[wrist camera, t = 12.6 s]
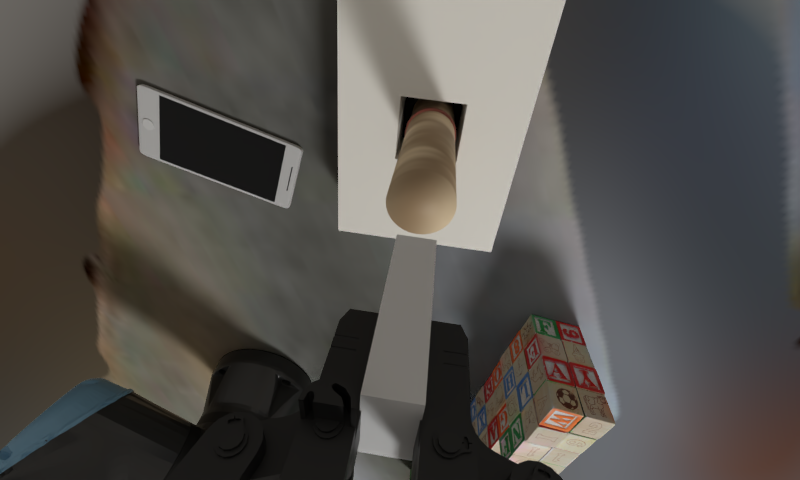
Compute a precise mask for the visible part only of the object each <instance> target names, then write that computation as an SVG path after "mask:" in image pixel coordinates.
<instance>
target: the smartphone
mask: <svg viewBox="0 0 800 480" xmlns="http://www.w3.org/2000/svg"><path fill="white" fill-rule="evenodd" d="M137 101H138V122H139V144H140V152H141V153H142V154H144V155H146V156H148V157H151V158H153V159H156V160H159V161H161V162H164V163H167V164H169V165H172V166H175V167H177V168H180V169H183V170H185V171H188V172H191V173H193V174H196V175H198V176H201V177H204V178H206V179H209V180H212V181H214V182H217V183H220V184H222V185H225V186H228V187H230V188H233V189H236V190H238V191H241V192H243V193H246V194H249V195H251V196H254V197H257V198H259V199H262V200H265V201H267V202H270V203H273V204H275V205H278V206H281V207H284V208H289V206H290V205H291V201H292V196H293V192H294V188H295V184H296V179H297V175H298V171H299V166H300V162H301V158H302V154H303V149H302V148H301V147H300V146H298V145H295V144H293V143H290V142H288V141H285V140H283V139H280V138H278V137H275V136H273V135H270V134H268V133H265V132H263V131H260V130H258V129H255V128H253V127H250V126H248V125H245V124H243V123H241V122H238V121H236V120H233V119H231V118H228V117H226V116H223V115H221V114H218V113H216V112H213V111H211V110H208V109H206V108H203V107H201V106H198V105H196V104H193V103H191V102H188V101H186V100H183V99H181V98H178V97H176V96H173V95H171V94H168V93H166V92H163V91H161V90H158V89H156V88H153V87H151V86H148V85H145V84H141V85H138V86H137Z"/></svg>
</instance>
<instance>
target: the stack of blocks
mask: <svg viewBox="0 0 800 480" xmlns="http://www.w3.org/2000/svg"><path fill="white" fill-rule="evenodd" d="M604 395H605V392H604V390H603V387H602V384H601V382H600V379H599V376H598V374H597V371H596V369H595V368H594V365H593V363H592V360H591V358H590V355H589V352H588V350H587V348H586V343H585V341H584V338H583V336H582V333H581V330H580V328H579V327H577V326H574V325H570V324H566V323H563V322H559V321H554V320H550V319H547V318H543V317H539V316H536V315H532V314H531V315H530V317H529V318H528V320H527V321H526V323H525V324H524V325H523V327H522V328H521V330H520V331H519V332H518V333H517V335H516V336H515V337H514V339H513V340H512V342H511V343H510V345H509V346H508V348H507V349H506V351H505V352H504V354H503V355H502V357H501V358H500V361H499V362H498V364H497V366H496V367H495V369H494V370H493V372H492V374H491V375H490V377H489V378H488V380H487V381H486V383H485V384H484V385H483V386H482V387H481V389H480V390H479V392H478V393H477V395H476V397H475V398H474V400H473V401H472V403H471V404H470V408H471V420H472V425H473V427H474V430H475V432H476V434H477V435H478V437H479V438H480V440H481V441H482V442H483V443H484V444H485V445H486V446H487V447H489V448H490V449H492V450H493V451H495V452H496V453H498V454H500V455H502V456H504V457H506V458H507V459H509V460H511V461H513V462H515V463H517V464H518V463H521V462H524V461H527V460H532V461H539V462H541V463H543V464H545V465H547V466H549V467H551V468H552V469H553V470H554V471H555V472H556V473H557V474H559V473H560V472H562V471H563V470H564V469H565V468H566V466H568V465H569V464H570V463H571V462H572V461H573V460H575V459H576V458H577V457H578V456H579V454H581V453H583V452H584V451H585V450H586V449H587V448H588V447H590V446H591V445H592V444H593V443H594V442H595V441H596V440H597V439H599V438H601V437H602V436H603V435H604V434H605V433H606V432H608V431H609V430H610V429H611V428H612V427H614V425H615V421H614V418H613V416H612V413H611V411H610V408H609V405H608V403H607V400H606V398H605V396H604Z"/></svg>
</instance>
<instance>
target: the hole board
mask: <svg viewBox="0 0 800 480" xmlns="http://www.w3.org/2000/svg"><path fill="white" fill-rule="evenodd" d="M565 1H566V0H337V46H338V230H340V231H347V232H354V233H361V234H368V235H375V236H382V237H389V238H396V236H397V234H398V235H405V236H412V237H419V238H426V239H433V240H437V244H438V245H444V246H451V247H458V248H465V249H472V250H479V251H486V252H491V251H492V247H493V244H494V240H495V237H496V234H497V230H498V227H499V224H500V220H501V217H502V214H503V210H504V207H505V203H506V200H507V197H508V193H509V190H510V187H511V183H512V180H513V176H514V173H515V170H516V166H517V163H518V160H519V156H520V153H521V149H522V146H523V143H524V139H525V136H526V133H527V129H528V126H529V123H530V119H531V116H532V112H533V109H534V106H535V102H536V99H537V96H538V92H539V89H540V85H541V82H542V79H543V75H544V72H545V69H546V65H547V62H548V58H549V55H550V52H551V48H552V45H553V42H554V38H555V35H556V32H557V28H558V24H559V21H560V18H561V15H562V11H563V8H564V4H565ZM406 97H412V98H419V99H427V100H435V101H443V102H451V103H459V104H462V109H461V115H460V120H459V125H458V131H457V136H456V141H455V159H456V196H457V207H456V212H455V215H454V217H453V219H452V220H451V222H450V223H449V224H448V225H447V226H446V227H444V228H443V229H441V230H439V231H437V232H434V233H430V234H414V233H410V232H407V231H405V230H403V229H402V228H400V227H399V226H397V225H396V224H395V223H394V222H393V221H392V219H391V218H390V216H389V214H388V212H387V209H386V196H387V192H388V189H389V186H390V183H391V179H392V176H393V173H394V170H395V166H396V163H397V160H398V157H399V153H400V150H401V147H402V143H403V140H404V138H402V133H403V123H404V112H405V102H406Z"/></svg>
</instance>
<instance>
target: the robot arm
mask: <svg viewBox="0 0 800 480" xmlns="http://www.w3.org/2000/svg"><path fill="white" fill-rule="evenodd" d="M436 244H437V240H433V239H426V238H419V237H412V236H405V235H398V234H397V236H396V240H395V245H394V249H393V254H392V258H391V262H390V267H389V271H388V276H387V280H386V284H385V289H384V293H383V297H382V302H381V306H380V311H379V313H373V312H367V311H360V310H354V309H350V310H349V311H348V312H347V313H346V314H345V315H344V316H343V317H342V318H341V319H340V321H339V324H338V326H337V329H336V332H335V336H334V338H333V341H332V344H331V348H330V350H329V353H328V356H327V359H326V362H325V365H324V368H323V371H322V374H321V376H320V379H319V380H317V381H314V382H312V383H311V381H310V379H309V378H308V376H307V375H306V374H305V373H304V372H303V371H302V370H301V369H300V368H299V367H298V366H296V365H295V364H293V363H292V362H290V361H289V360H287V359H285V358H283V357H280V356H278V355H275V354H272V353H269V352H265V351H260V350H237V351H233V352H231V353H228V354H227V355H225V356H224V357H223V358H222V359H221V360H220V362H219V363H218V365H217V367H216V368H215V370H214V372H213V374H212V377H211V381H210V385H209V390H208V394H207V398H206V403H205V407H204V412H203V414H202V416H201V418H200V420H199V421H198V423H197V425H194V424H192V423H190V422H189V421H187V420H185V419H183V418H181V417H179V416H177V415H175V414H173V413H171V412H170V411H168V410H166V409H164V408H162V407H160V406H158V405H156V404H154V403H152V402H150V401H149V400H147V399H145V398H143V397H141V396H140V395H138V394H136V393H134V391H133V390H132V389H126V388H123V387H121V386H119V385H117V384H114V383H112V382H110V381H108V380H106V379H102V378H92V379H88V380H85V381H83V382H81V383H80V384H78V385H77V386H75V387H74V388H72V389H71V390H70V391H69V392H67V393H66V394H65V395H64V396H62V397H61V398H60V399H59V400H58V401H56V402H55V403H54V404H53V405H52V406H50V407H49V408H48V409H47V410H46V411H44V412H43V413H42V414H41V415H40V416H38V417H37V418H36V419H35V420H34V421H33V422H32V423H30V424H29V425H28V426H27V427H26V428H25V429H24V430H22V431H21V432H20V433H19V434H18V435H17V436H16V437H15V438H13V439H12V440H11V441H10V442H9V443H8V444H7V445H6V446H5V447H4V448H3V449H2V450H0V480H353V476H354V465H355V460H356V455H357V452H363V453H369V454H375V455H381V456H386V457H392V458H398V459H404V460H409V461H412V470H411V479H410V480H563V479H562V478H561V477H560V476H559V475H558V474H557V473H556V472H555V471H554V470H553V469H552V468H551V467H549V466H547V465H545V464H543V463H541V462H539V461H532V460H527V461H524V462H521V463H518V464H517V463H515V462H513V461H511V460H509V459H507V458H506V457H504V456H502V455H500V454H498V453H496V452H495V451H493V450H492V449H490V448H489V447H487V446H486V445H485V444H484V443H483V442H482V441H481V440H480V438H479V437H478V435H477V434H476V432H475V430H474V427H473V425H472V420H471V408H470V382H469V357H468V339H467V337H466V335H465V333H464V331H463V329H462V327H461V325H456V324H450V323H443V322H437V321H431V317H432V303H433V288H434V273H435V258H436Z"/></svg>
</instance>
